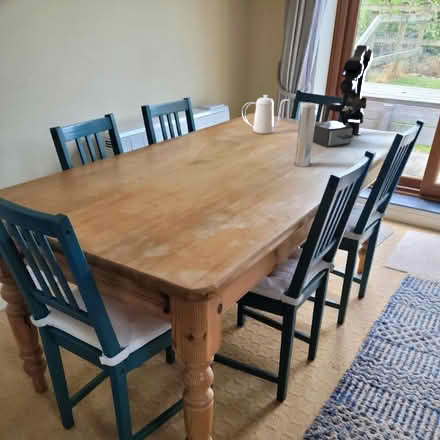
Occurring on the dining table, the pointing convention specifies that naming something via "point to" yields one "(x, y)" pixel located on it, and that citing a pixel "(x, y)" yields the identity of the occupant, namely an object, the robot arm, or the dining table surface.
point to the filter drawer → (340, 136)
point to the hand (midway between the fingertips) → (344, 125)
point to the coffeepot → (264, 115)
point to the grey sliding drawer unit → (326, 131)
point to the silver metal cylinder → (305, 134)
